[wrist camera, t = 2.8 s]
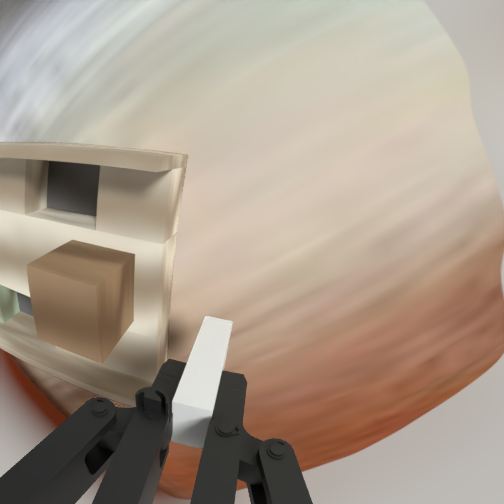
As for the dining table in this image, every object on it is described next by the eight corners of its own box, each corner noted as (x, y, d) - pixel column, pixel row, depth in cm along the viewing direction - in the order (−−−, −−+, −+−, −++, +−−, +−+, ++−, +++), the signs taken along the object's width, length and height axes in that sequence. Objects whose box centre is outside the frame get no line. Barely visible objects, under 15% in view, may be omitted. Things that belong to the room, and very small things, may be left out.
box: (-22, 142, 19) (-61, 148, 14) (188, 154, 19) (158, 156, 14) (-12, 299, 24) (-42, 321, 19) (166, 367, 25) (147, 411, 19)
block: (72, 239, 18) (26, 265, 13) (135, 254, 18) (96, 286, 13) (75, 303, 20) (37, 337, 15) (133, 321, 20) (102, 363, 15)
